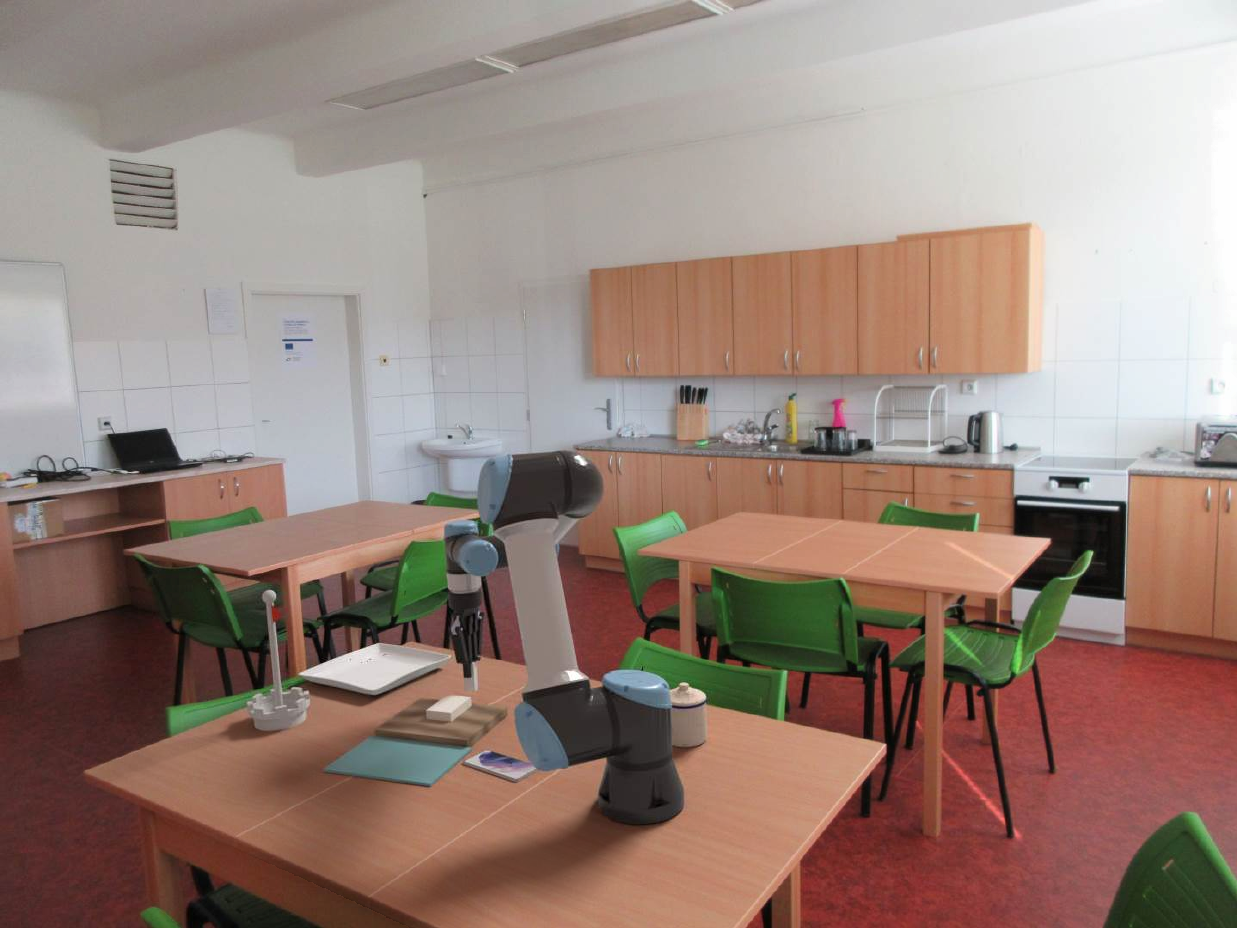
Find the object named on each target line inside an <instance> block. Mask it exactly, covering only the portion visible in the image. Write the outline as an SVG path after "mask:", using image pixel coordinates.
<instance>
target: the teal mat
mask: <svg viewBox="0 0 1237 928" xmlns="http://www.w3.org/2000/svg"><path fill="white" fill-rule="evenodd" d="M472 751H473V747H462V746H454V745H445V744H437V743H428V742H420V741H412V740H403V739H395V738H387V737H378V736H375V735H370V736H368V738H366V739H365V740H363V741H361V742H360V743H358V744H356V746H354V747H353V748H352V749H350V750H349V751H348V752H346V753H344V754H343V755H342V756H340V757H339V758H337V759H335V760H334V761H333V762H331V763H330V764H328V765H327V766H326V767H325V768H323V769H322V770H323V772H324V773H330V774H331V773H333V774H340V775H345V776H353V777H360V778H367V779H375V780H380V781H381V780H383V781H388V782H389V781H390V782H396V783H398V782H399V783H404V784H411V785H416V786H417V785H419V786H426V787H432V786H433V785H434V784H435V783H436V782H437V781H439V780H440V779H441V778H443V777H444V776H445V775H446V774H447V773H448V772H449V771H450V770H451V769H453V768H455V766H456V765H457V764H458V763H460V762H461V760H463V759H464V758H465V757H467V755H468V754H470V753H471V752H472Z"/></svg>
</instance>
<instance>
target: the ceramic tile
mask: <svg viewBox="0 0 1237 928" xmlns="http://www.w3.org/2000/svg"><path fill="white" fill-rule="evenodd" d="M439 700H440V701H438V702H437V703H435V704H434V705H433V706H431V707H430V708H428V709H427V710H426V716H427V719H431V720H440V721H449V722H452V721H453V720H454V719H455V718H457V717H458V716H459V715H461V714H462V713H463V712H464V711H466V710H467V709H468V708H470V707H471V706H472V703H473V702H472V697H471V696H464V695H462V696H461V695H453V694H446V695H445V696H444V697H442V698H441V699H439Z"/></svg>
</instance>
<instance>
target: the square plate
mask: <svg viewBox="0 0 1237 928" xmlns="http://www.w3.org/2000/svg"><path fill="white" fill-rule="evenodd" d="M384 654H386V655H384ZM383 655H384V656H383ZM451 658H452V655H451V654H447V653H446V654H445V653H440V652H436V651H431V650H428V649H427V650H426V649H421V648H414V647H409V646H405V645H404V646H403V645H402V646H401V645H396V644H390V643H389V644H388V643H382V642H377V643H375V644H372V645H369V646H366V647H363V648H361V649H358V650H355V651H352V652H349V653H346V654H343V655H340V656H338V657H335V658H333V659H330V660H326V661H325V662H323V663H319V664H318V665H315V666H312V667H310V668H308V669H306V670H303V671H302V672H299V673H298V676H301V677H302V678H303V679H304V680H307V681H309V682H311V683H316V684H319V685H325V686H329V687H333V688H339V689H343V690H346V691H347V690H348V691H352V692H355V693H360V694H365V695H369V696H370V695H371V696H377V695H379V694H384V693H386V692H389V691H392V690H394V689H395V688H397V687H400V686H403V685H404V684H406V683H408V682H411V681H412V680H416V679H417V678H420V677H422V676H424V675H426V674H428V673H429V672H432V671H434V670H436V669H439V668H441V667H442V666H445V665H446V664H447V662H448V661H449V660H450V659H451ZM350 659H351V660H350ZM369 659H371V660H369ZM367 661H368V662H367ZM361 662H362V663H361Z"/></svg>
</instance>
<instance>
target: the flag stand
mask: <svg viewBox="0 0 1237 928" xmlns="http://www.w3.org/2000/svg"><path fill="white" fill-rule="evenodd" d="M261 598H262V599H261V600H262V601H263V602H264V603H265V605H266V617H267V619H266V620H267V627H268V638H269V640H268V641H269V649H270V659H271V669H272V680H273V681H272V682H273V689H270V690H269V692H270V694H269V695H265V696H264V695H263V693H257V694H255V695H253V696H251V701H247V702H246V705H247V706H246V707H247V708H246V709H247V714H248V716H249V717H250V718H251V719H253V725H254V728H255V729H256V730H259V731H264V732H273V731H274V732H275V731H282V730H287V729H290V728H293V727H296V726H298V725H300V724H302V723H303V722H304V721H305V720H306V719H307V709H308V708H309V706H310V705H311V700H310V691H309V690H304V691H303V687H295V686H293V687H291V688H290V691H287V692H286V691H283V688H282V682H281V679H282V678H281V671H280V660H279V650H278V649H279V647H278V638H277V637H278V636H277V629H276V628H277V627H276V622H277V621H278V620H279V619H281V618H282V617H283V616H282V615H281V613H279V611H278V610H277V608H275V606H274V605H275V604H274V602H275V601H276V599H277V594H276V592H275V591H274V590H272V589H268V590H265V591H264V592H263V593H262V596H261Z"/></svg>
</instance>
